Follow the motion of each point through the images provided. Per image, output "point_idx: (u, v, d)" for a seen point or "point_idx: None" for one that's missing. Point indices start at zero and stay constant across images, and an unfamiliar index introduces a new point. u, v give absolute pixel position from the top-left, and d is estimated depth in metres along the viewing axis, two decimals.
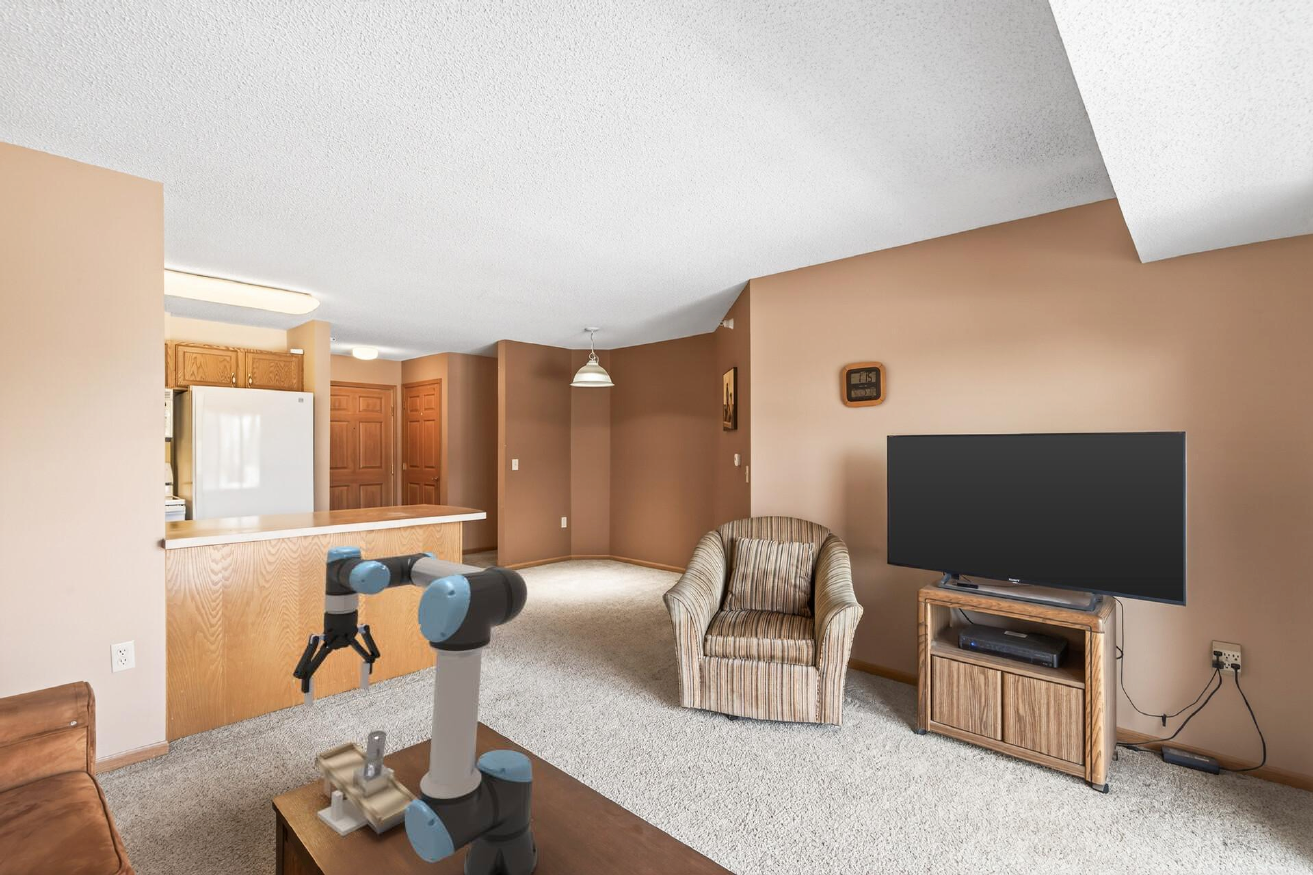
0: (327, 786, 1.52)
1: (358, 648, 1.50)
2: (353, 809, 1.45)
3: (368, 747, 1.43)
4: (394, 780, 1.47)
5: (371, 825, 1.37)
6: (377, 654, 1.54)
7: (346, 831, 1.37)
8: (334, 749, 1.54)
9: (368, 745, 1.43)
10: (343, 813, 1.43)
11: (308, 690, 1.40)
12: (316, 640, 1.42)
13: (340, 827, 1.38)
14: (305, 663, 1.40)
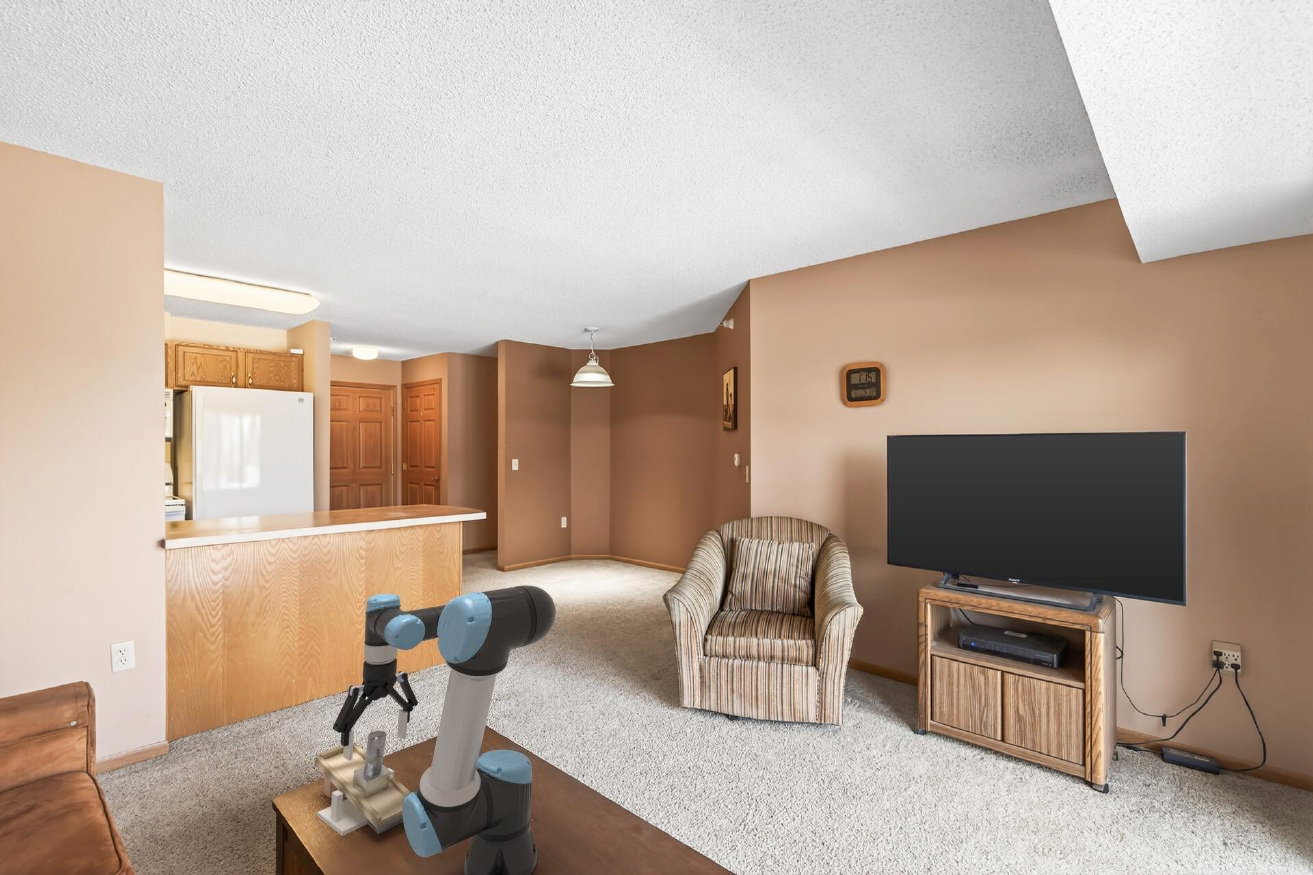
0: (327, 786, 1.52)
1: (396, 697, 1.47)
2: (353, 809, 1.45)
3: (368, 747, 1.43)
4: (394, 780, 1.47)
5: (371, 825, 1.37)
6: (415, 702, 1.51)
7: (346, 831, 1.37)
8: (334, 749, 1.54)
9: (368, 745, 1.43)
10: (343, 813, 1.43)
11: (348, 743, 1.38)
12: (356, 692, 1.39)
13: (340, 827, 1.38)
14: (345, 716, 1.37)
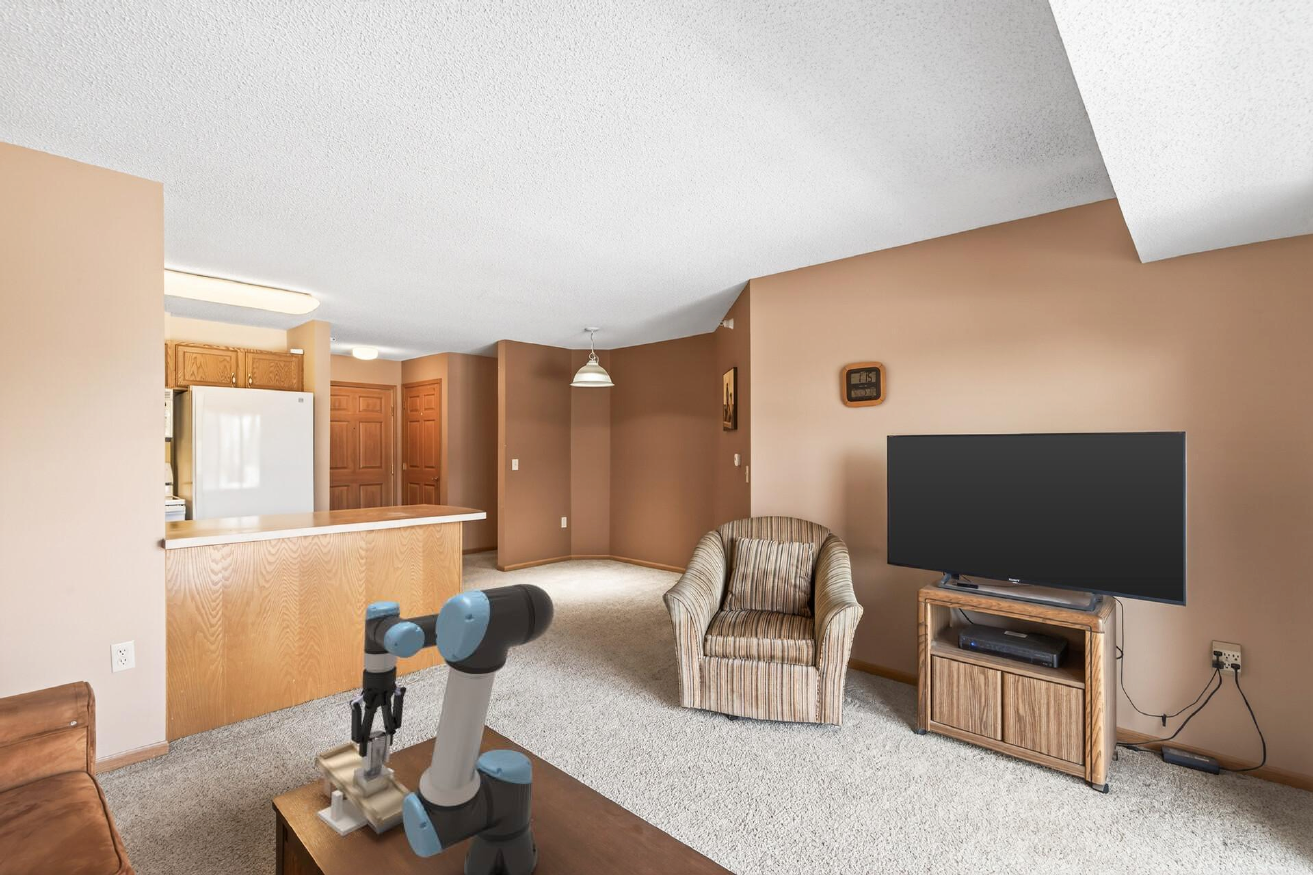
0: (327, 786, 1.52)
1: (388, 712, 1.45)
2: (353, 809, 1.45)
3: None
4: (394, 780, 1.47)
5: (371, 825, 1.37)
6: (399, 724, 1.48)
7: (346, 831, 1.37)
8: (334, 749, 1.54)
9: None
10: (343, 813, 1.43)
11: (366, 754, 1.41)
12: (357, 706, 1.39)
13: (340, 827, 1.38)
14: (357, 729, 1.39)
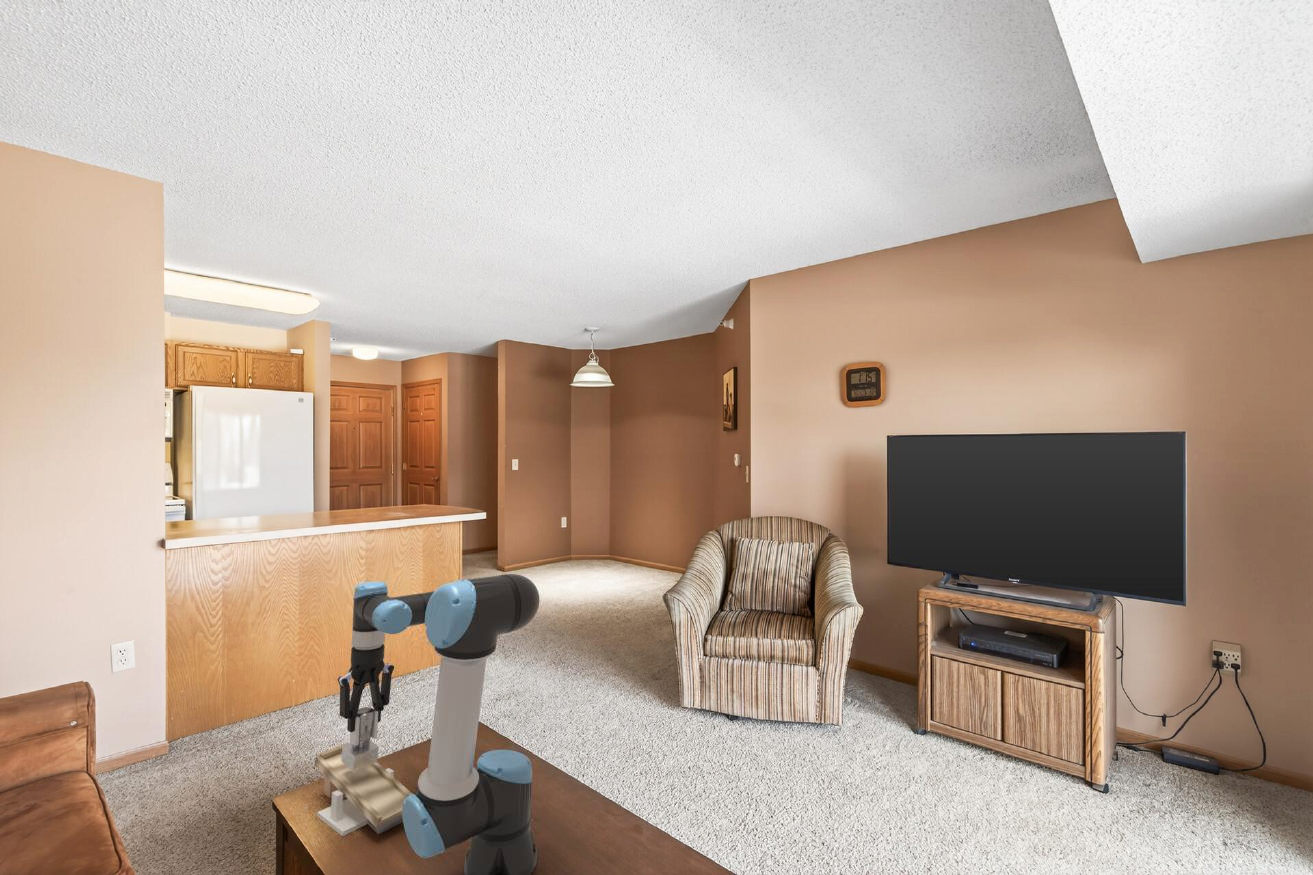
0: (327, 786, 1.52)
1: (376, 689, 1.49)
2: (353, 809, 1.45)
3: None
4: (394, 780, 1.47)
5: (371, 825, 1.37)
6: (386, 701, 1.51)
7: (346, 831, 1.37)
8: (334, 749, 1.54)
9: None
10: (343, 813, 1.43)
11: (354, 729, 1.45)
12: (345, 682, 1.43)
13: (340, 827, 1.38)
14: (346, 704, 1.43)
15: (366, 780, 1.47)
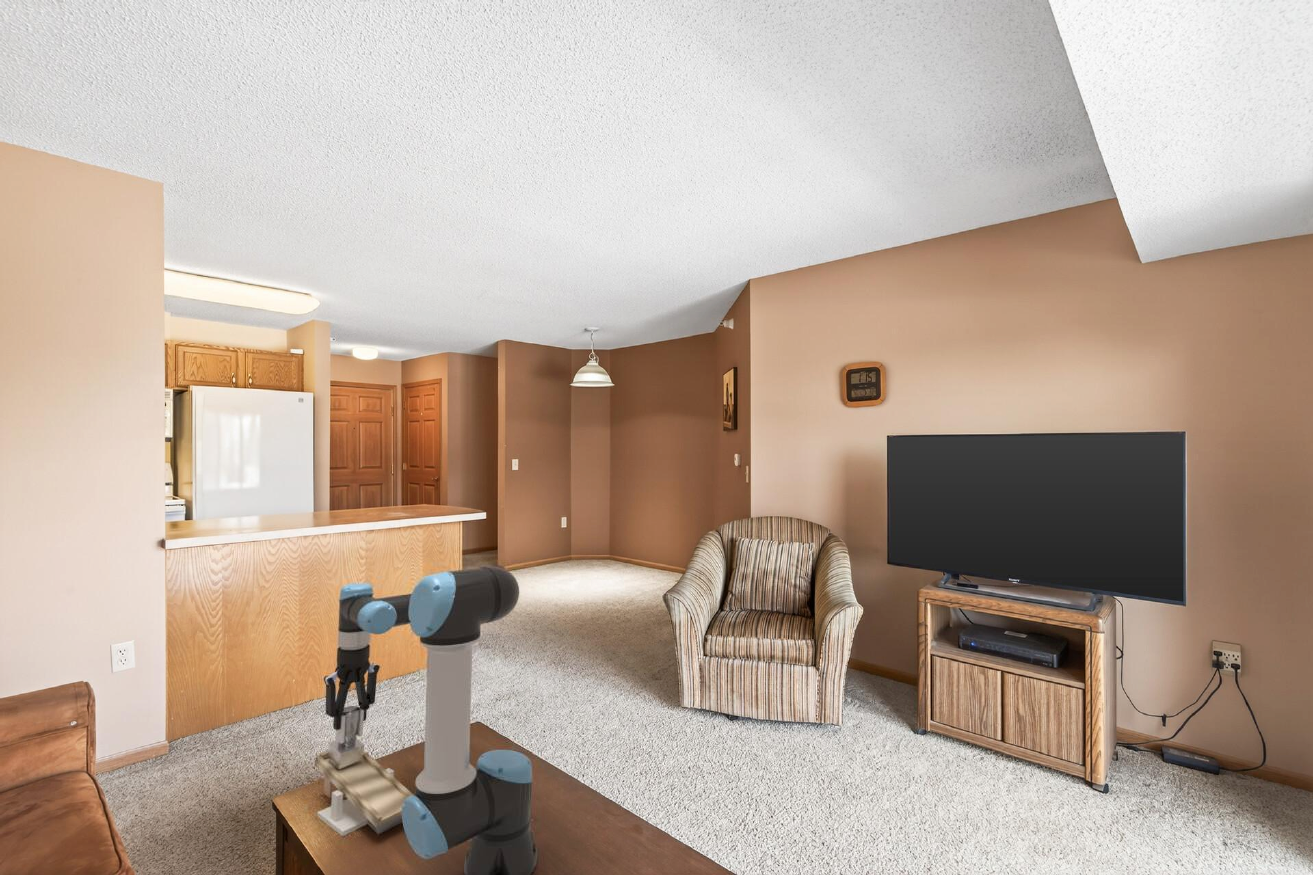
0: (327, 786, 1.52)
1: (361, 688, 1.53)
2: (353, 809, 1.45)
3: None
4: (394, 780, 1.47)
5: (371, 825, 1.37)
6: (372, 699, 1.55)
7: (346, 831, 1.37)
8: None
9: None
10: (343, 813, 1.43)
11: (340, 727, 1.49)
12: (331, 682, 1.47)
13: (340, 827, 1.38)
14: (331, 703, 1.47)
15: (366, 780, 1.47)
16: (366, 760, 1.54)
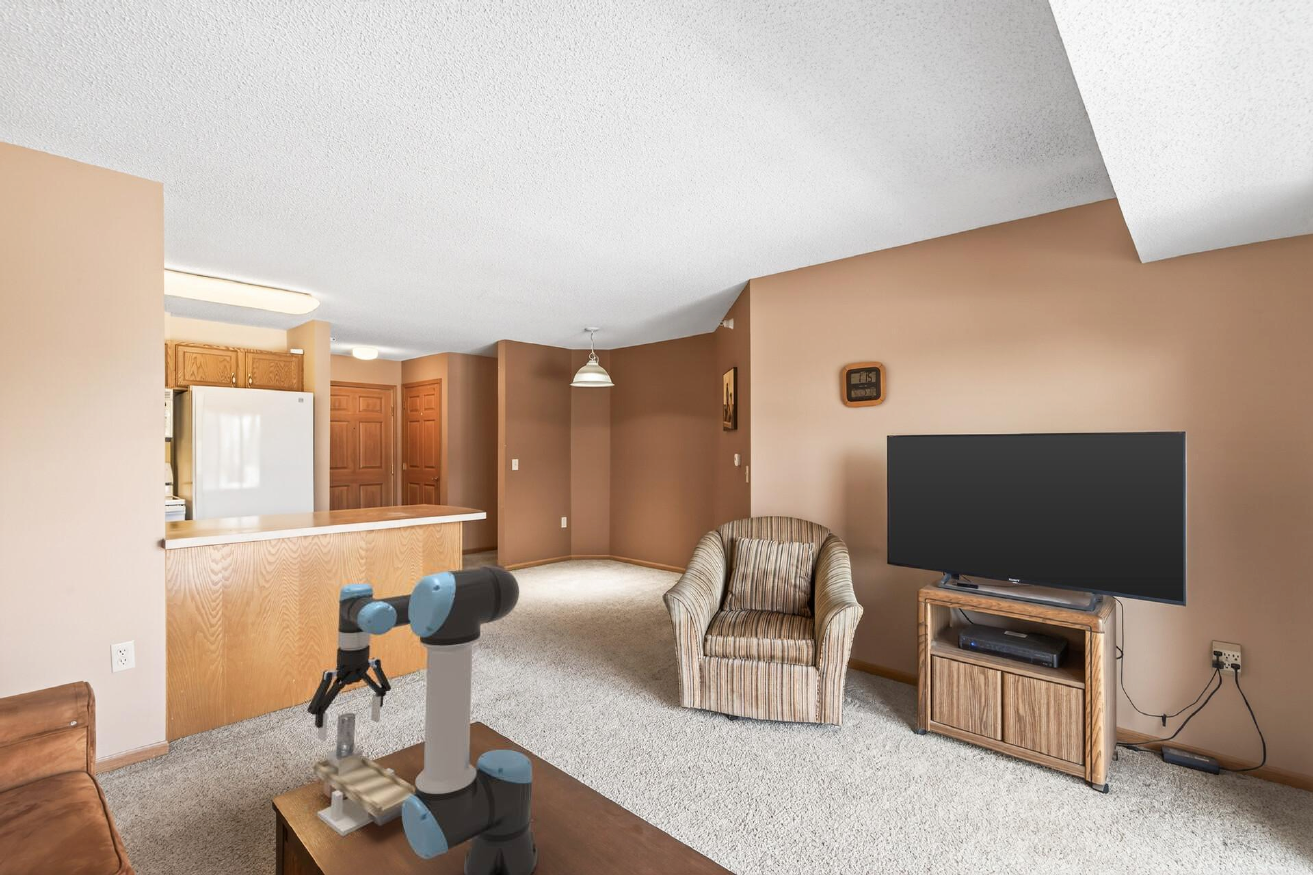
0: (327, 786, 1.52)
1: (369, 682, 1.55)
2: (353, 809, 1.45)
3: (338, 727, 1.51)
4: (394, 776, 1.47)
5: (372, 818, 1.37)
6: (388, 687, 1.59)
7: (346, 831, 1.37)
8: None
9: (338, 726, 1.51)
10: (343, 813, 1.43)
11: (322, 725, 1.45)
12: (329, 676, 1.46)
13: (340, 827, 1.38)
14: (319, 699, 1.44)
15: (366, 780, 1.47)
16: (365, 763, 1.54)
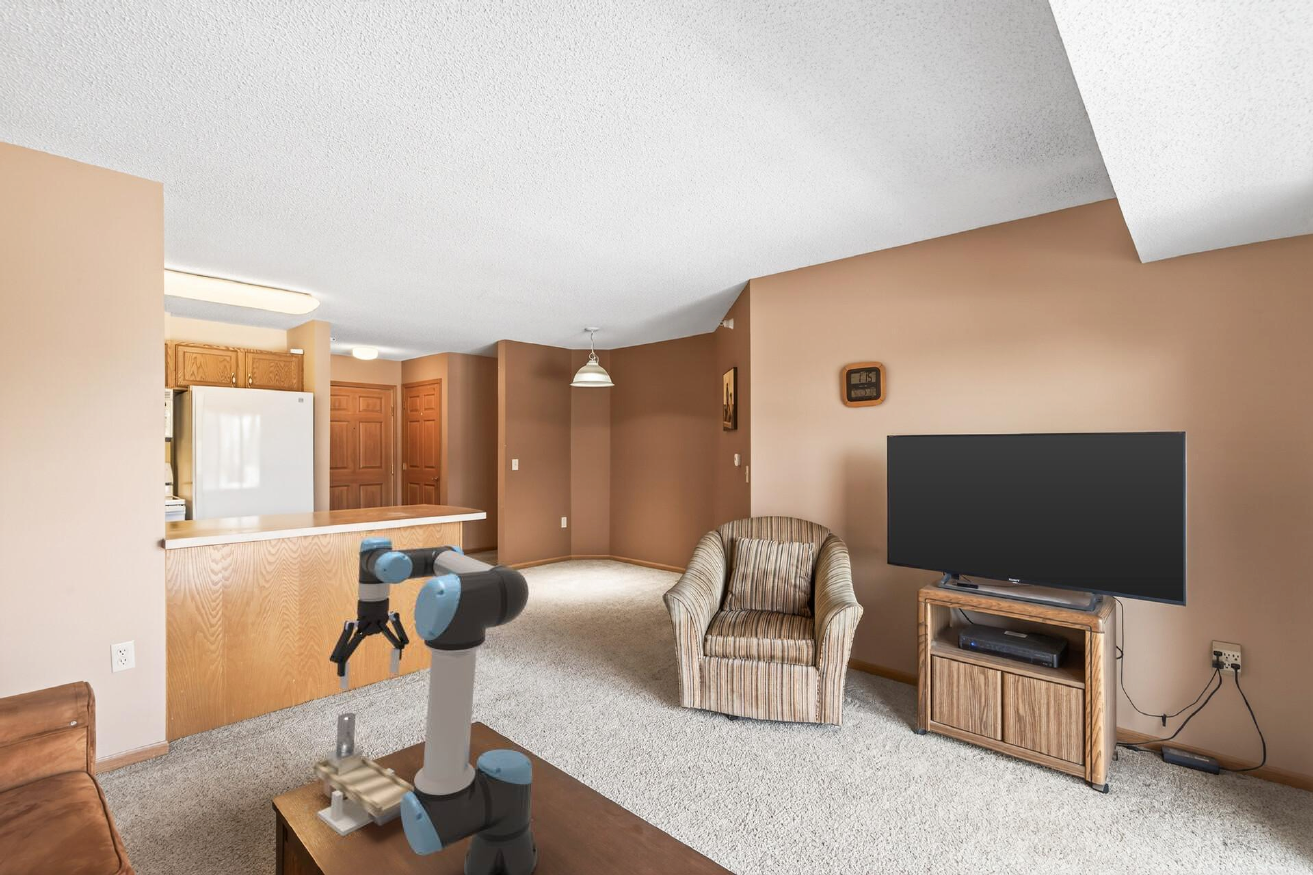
0: (327, 786, 1.52)
1: (389, 635, 1.57)
2: (353, 809, 1.45)
3: (338, 727, 1.51)
4: (394, 776, 1.47)
5: (372, 818, 1.37)
6: (406, 641, 1.61)
7: (346, 831, 1.37)
8: None
9: (338, 726, 1.51)
10: (343, 813, 1.43)
11: (344, 674, 1.47)
12: (351, 626, 1.48)
13: (340, 827, 1.38)
14: (341, 648, 1.46)
15: (366, 780, 1.47)
16: (365, 763, 1.54)
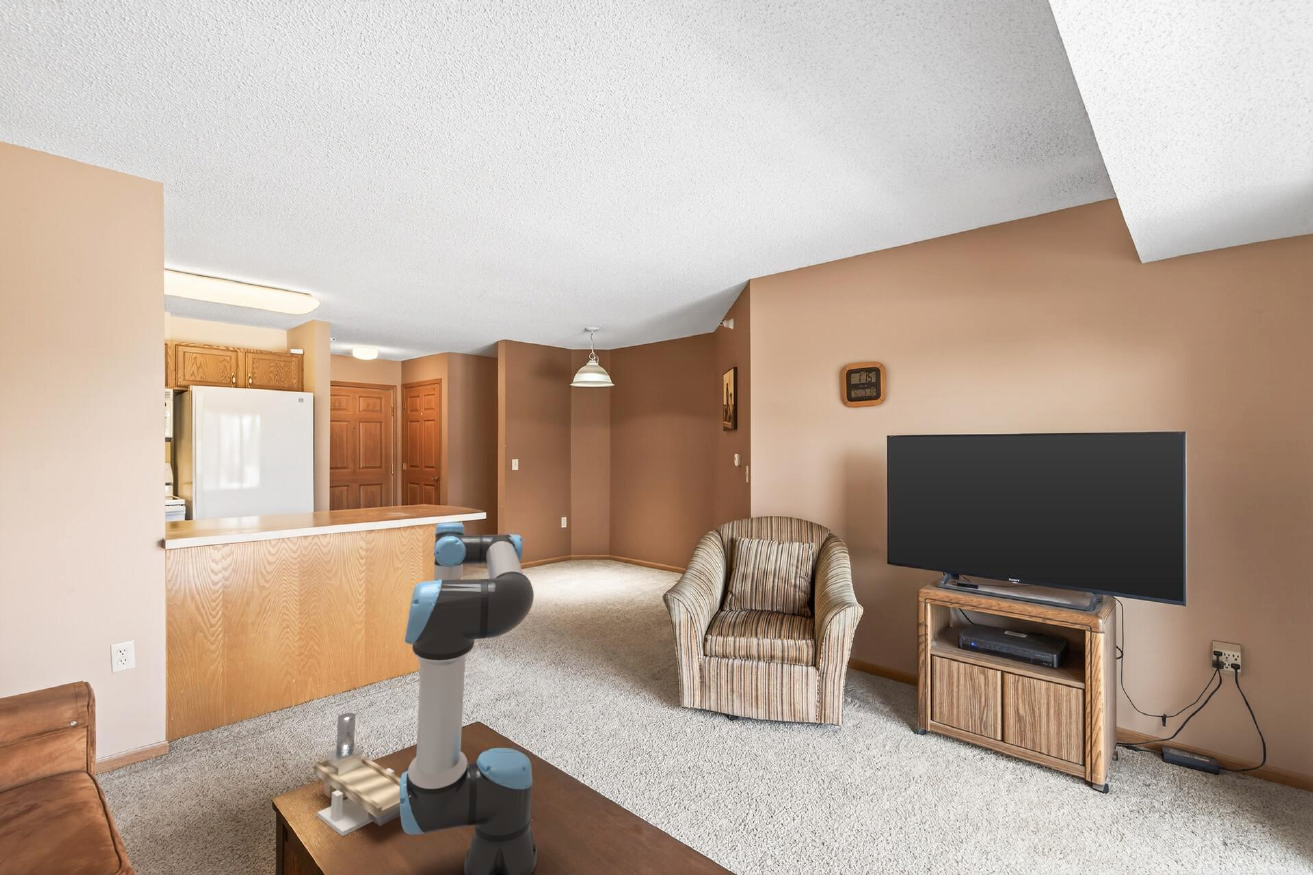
0: (327, 786, 1.52)
1: None
2: (353, 809, 1.45)
3: (338, 727, 1.51)
4: (394, 776, 1.47)
5: (372, 818, 1.37)
6: None
7: (346, 831, 1.37)
8: None
9: (338, 726, 1.51)
10: (343, 813, 1.43)
11: None
12: None
13: (340, 827, 1.38)
14: None
15: (366, 780, 1.47)
16: (365, 763, 1.54)
